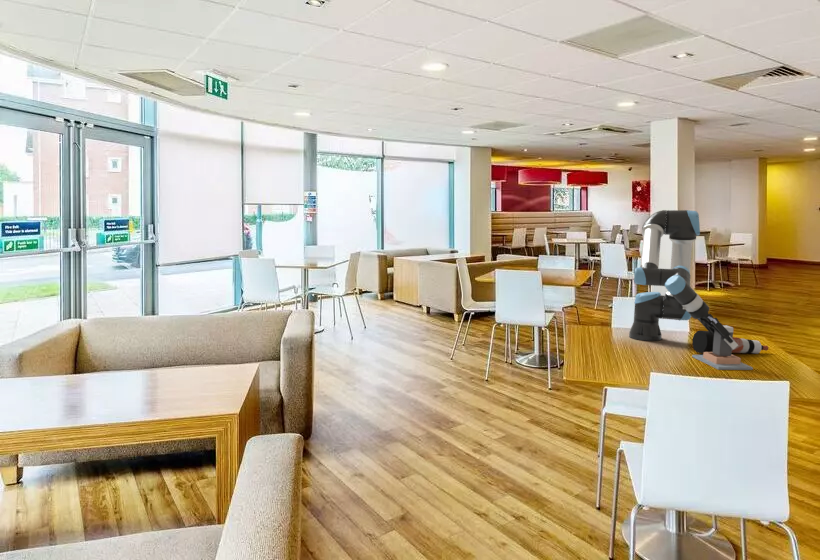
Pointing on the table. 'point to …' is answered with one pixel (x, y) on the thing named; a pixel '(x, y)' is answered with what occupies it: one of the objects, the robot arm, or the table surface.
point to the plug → (722, 343)
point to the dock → (722, 361)
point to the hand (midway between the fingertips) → (731, 345)
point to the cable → (705, 344)
